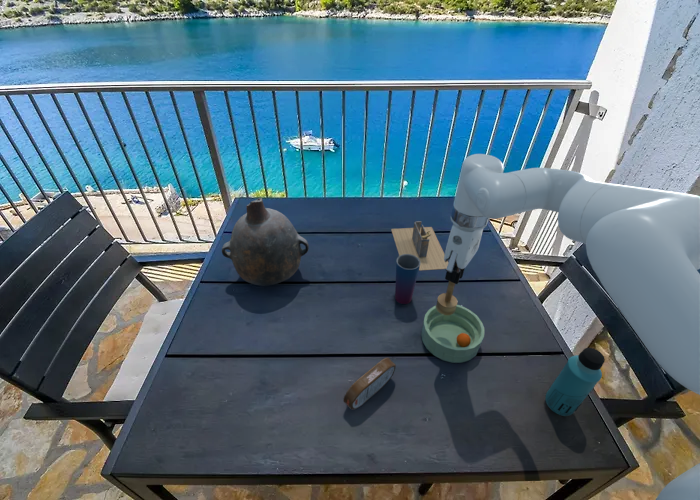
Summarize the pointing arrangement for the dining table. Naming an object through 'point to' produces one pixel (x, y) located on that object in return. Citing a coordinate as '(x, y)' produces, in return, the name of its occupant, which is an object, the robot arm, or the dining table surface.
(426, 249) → the ruin model on sheet
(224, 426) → the dining table surface
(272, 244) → the jug
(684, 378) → the robot arm
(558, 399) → the beverage bottle
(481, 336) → the bowl
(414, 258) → the cup
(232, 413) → the dining table surface
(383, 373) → the tin
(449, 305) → the wooden pestle
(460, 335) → the ball
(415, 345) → the dining table surface
